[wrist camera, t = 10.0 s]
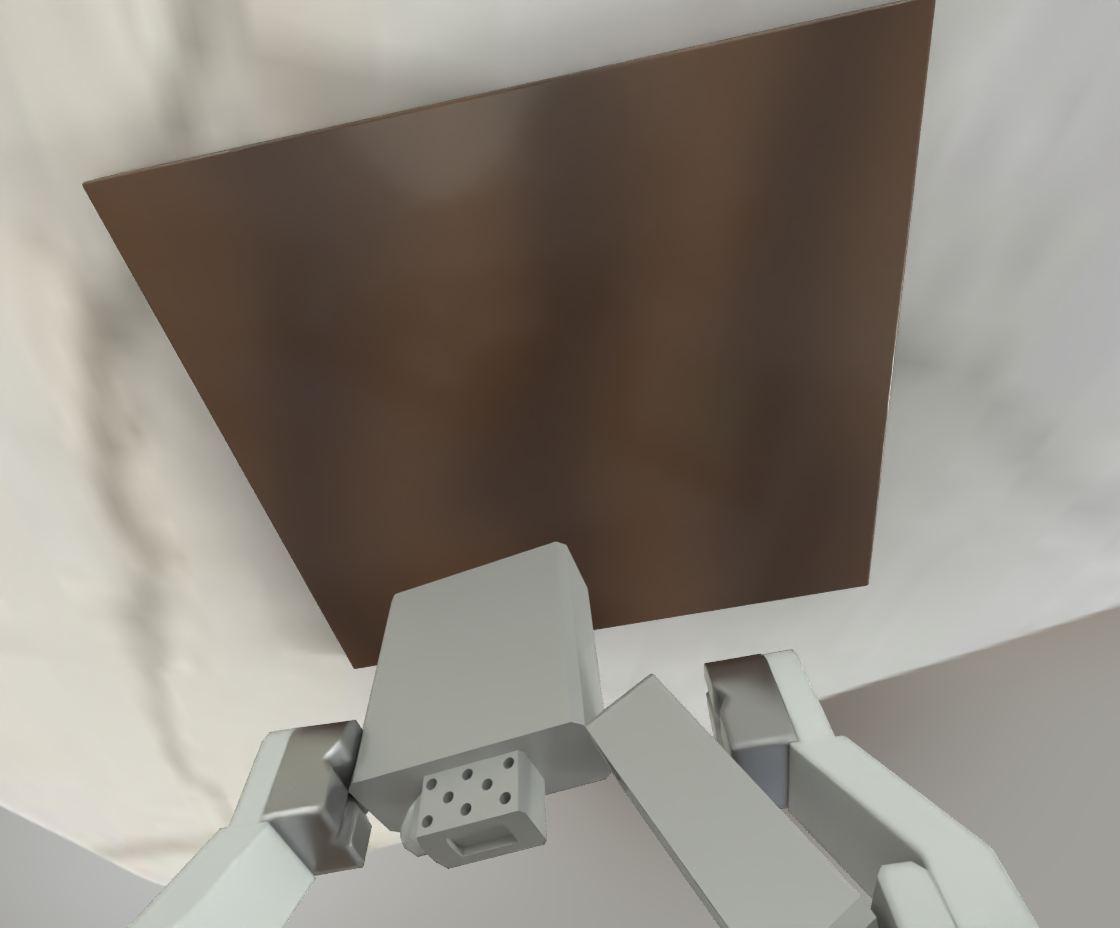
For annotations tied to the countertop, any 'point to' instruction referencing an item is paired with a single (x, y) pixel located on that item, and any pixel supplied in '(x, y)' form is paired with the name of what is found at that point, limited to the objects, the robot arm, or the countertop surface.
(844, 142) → the walnut board
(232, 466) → the countertop surface
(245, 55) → the countertop surface
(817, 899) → the lighter
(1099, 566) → the countertop surface
